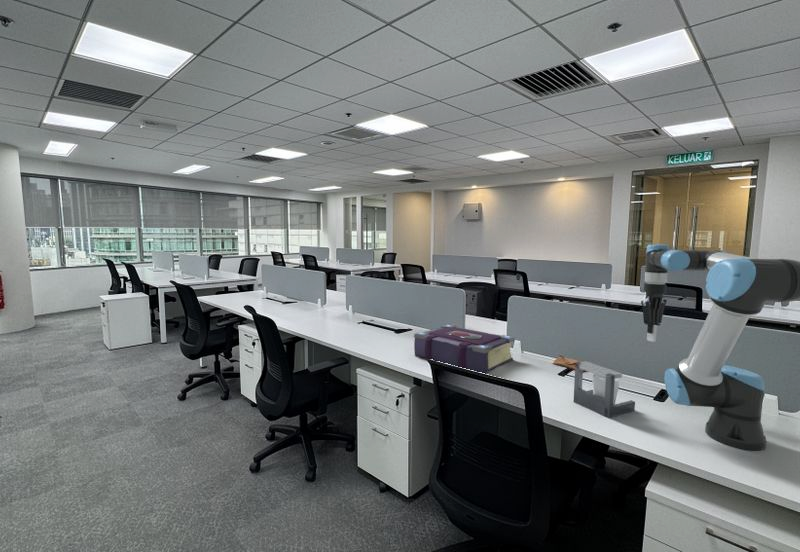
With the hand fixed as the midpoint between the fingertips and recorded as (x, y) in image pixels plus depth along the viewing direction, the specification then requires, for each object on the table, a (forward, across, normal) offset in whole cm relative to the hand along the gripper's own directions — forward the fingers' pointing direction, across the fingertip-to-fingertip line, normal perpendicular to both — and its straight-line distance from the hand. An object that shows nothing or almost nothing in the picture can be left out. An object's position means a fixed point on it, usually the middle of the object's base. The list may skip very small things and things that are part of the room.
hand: (651, 340), depth 156 cm
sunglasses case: (+25, -4, -42) cm, 49 cm away
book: (+25, +39, -77) cm, 90 cm away
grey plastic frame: (+24, +23, -3) cm, 34 cm away
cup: (+25, +23, -2) cm, 34 cm away
